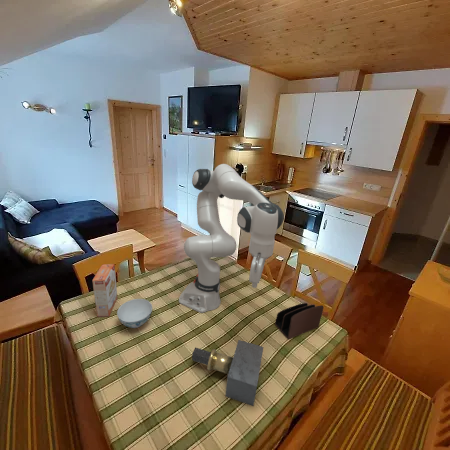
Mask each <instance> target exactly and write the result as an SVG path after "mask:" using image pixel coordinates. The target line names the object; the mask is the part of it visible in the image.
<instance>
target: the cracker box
mask: <svg viewBox="0 0 450 450" xmlns="http://www.w3.org/2000/svg"><path fill="white" fill-rule="evenodd" d="M116 280H117V278H116V269H115V264H112V263H110V264H109V263H108V264H106V263H105V264H102V265H101V266H100V268H99V269H98V270H97V272H96V274H95V275H94V277H93V279H92V281H91V282H92V288H93V295H94V301H95V308H96V315H97V318H99V317H110V316H111V313H112V311H113V309H114V307H115V304H116V302H117V300H118V290H117V281H116Z"/></svg>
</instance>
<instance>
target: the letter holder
mask: <svg viewBox="0 0 450 450" xmlns="http://www.w3.org/2000/svg"><path fill="white" fill-rule="evenodd" d="M323 312H324V305H317V306H316V305H315V304H308V303H307V302H303V303H300V304H299V303H298V304H295V305H293V306H289V307H287V308H285V309H283V310H280V311H279V312H277V313H276V317H275V323H274V325H275V327H276V328H277V329H278V331H280V332H281V334H282V335H283V336H284V337H285V338H286V340H290V339H292V338H294V337H297V336H300V335H303V334H305V333H308V332H309V331H313V330H315V329H317V328H319V327H320V323H321V320H322V315H323Z"/></svg>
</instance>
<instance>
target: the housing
mask: <svg viewBox="0 0 450 450" xmlns="http://www.w3.org/2000/svg"><path fill="white" fill-rule="evenodd" d="M263 352H264V346H262V345H261V346H260V345H257V344H254V343H251V342H249V341H248V342H247V341H244V340H241V339H238V341H237V344H236V347H235V350H234V354H233V356H232V357H233V360H232V363H231V367H230V370H229V373H228V374H227V378H226V379H227V380H226V386H225V387H226V388H225V397H227V398H230V399H231V400H235V401H237V402H240V403H243V404H247V405H249V406H252V407H254V405H255V399H256V393H257V387H258V383H259V382H258V381H259V378H260V377H259V376H260V371H261V365H262V359H263V355H264V354H263Z"/></svg>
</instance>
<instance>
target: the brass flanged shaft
mask: <svg viewBox="0 0 450 450" xmlns="http://www.w3.org/2000/svg"><path fill="white" fill-rule="evenodd" d="M233 357H234V356H231V355H227V354H223V353H220V352H218V351H217V349H215V348H212V349H211V351H208V350H204V349H202V348H198V347H196V346H195V347H194V349H193V351H192V354H191V361H193V362H196V363H199V364H203V365H205V366H206V367H207V370H208V371H212V370H214V371H215V372H220V373H223V374H226V375H228V373H229V370H230V367H231V363H232V360H233Z"/></svg>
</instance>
